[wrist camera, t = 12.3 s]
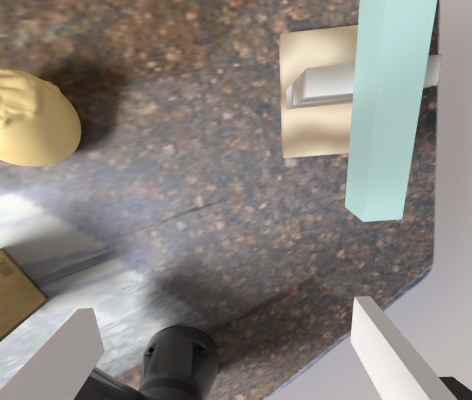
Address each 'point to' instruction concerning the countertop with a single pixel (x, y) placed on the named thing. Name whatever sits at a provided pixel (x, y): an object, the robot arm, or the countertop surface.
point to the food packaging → (16, 295)
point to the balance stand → (322, 89)
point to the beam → (386, 104)
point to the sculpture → (35, 121)
